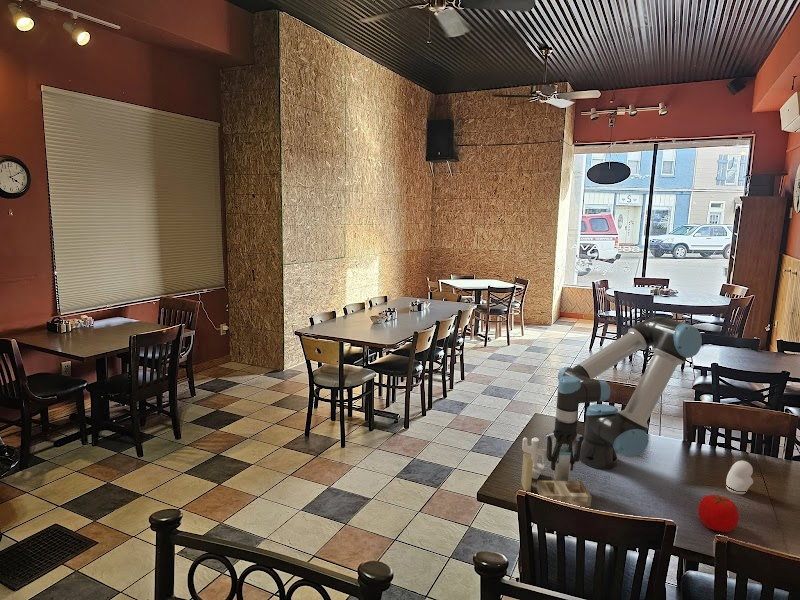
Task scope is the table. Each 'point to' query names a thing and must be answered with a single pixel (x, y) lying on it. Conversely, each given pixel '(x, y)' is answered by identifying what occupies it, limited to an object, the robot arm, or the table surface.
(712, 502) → the tomato
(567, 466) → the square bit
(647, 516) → the table surface
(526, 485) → the pale yellow rectangular block
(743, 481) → the figurine
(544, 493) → the socket block
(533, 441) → the figurine
